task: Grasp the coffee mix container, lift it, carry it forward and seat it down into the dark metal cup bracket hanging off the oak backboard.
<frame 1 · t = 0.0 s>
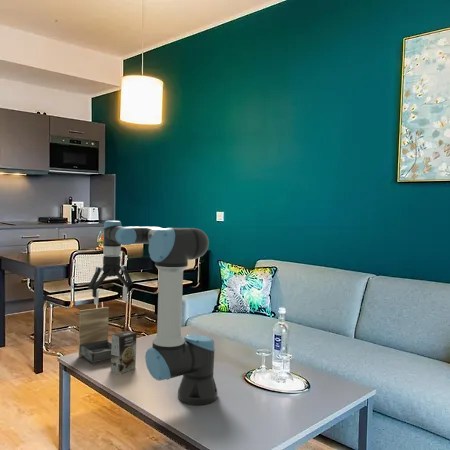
hand: (110, 302, 196), 28 cm above the table, fingers open, 13 cm apart
coffee box: (123, 370, 192), on the table
bracket: (99, 358, 204), on the table
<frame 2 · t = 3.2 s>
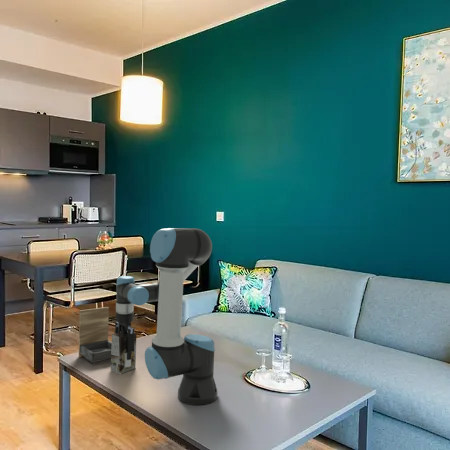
hand: (123, 363, 192), 3 cm above the table, fingers closed on coffee box, 7 cm apart
coffee box: (123, 370, 192), on the table, touching gripper
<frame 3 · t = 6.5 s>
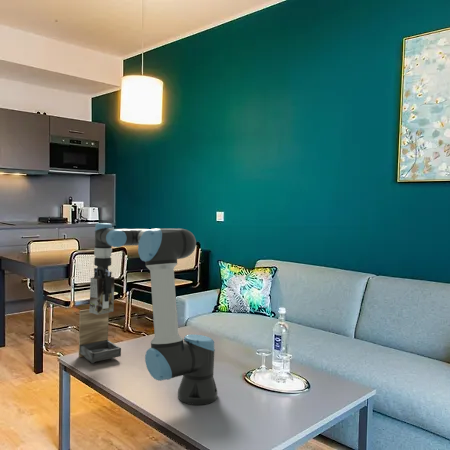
hand: (101, 306, 202), 25 cm above the table, fingers closed on coffee box, 7 cm apart
coffee box: (101, 312, 202), point 22 cm above the table, touching gripper
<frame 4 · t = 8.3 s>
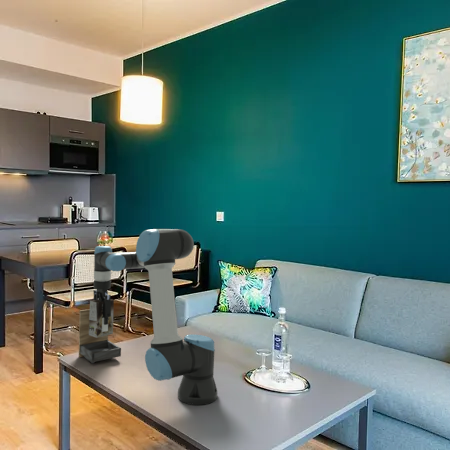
hand: (101, 328, 203), 14 cm above the table, fingers closed on coffee box, 7 cm apart
coffee box: (101, 334, 203), point 11 cm above the table, touching gripper
when the fingers open (8 cm above the table, at t = 10.0 s): coffee box drops 2 cm, resting on bracket.
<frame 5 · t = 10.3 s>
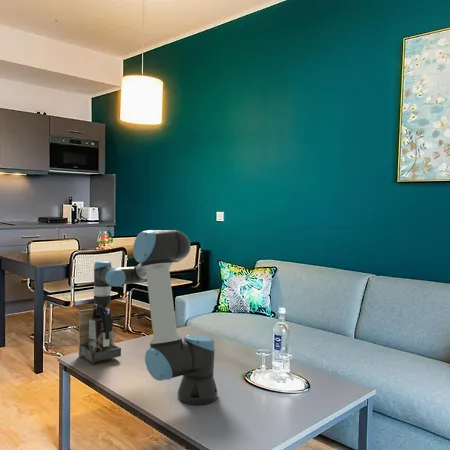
hand: (101, 343, 202), 8 cm above the table, fingers open, 9 cm apart
coffee box: (100, 353, 203), point 3 cm above the table, touching bracket
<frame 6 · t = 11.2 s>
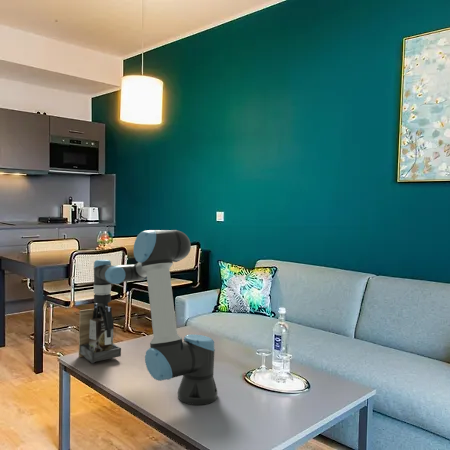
hand: (102, 341, 201), 9 cm above the table, fingers open, 11 cm apart
coffee box: (100, 353, 203), point 3 cm above the table, touching gripper
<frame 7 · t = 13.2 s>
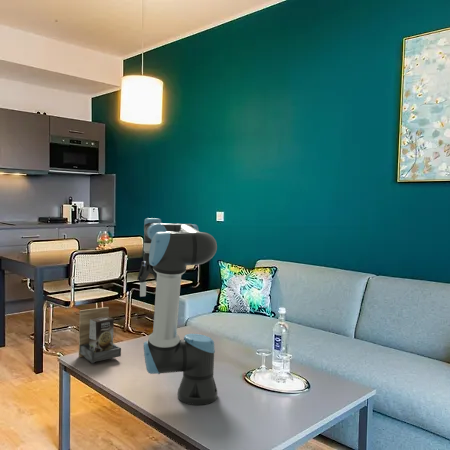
hand: (150, 298, 200), 30 cm above the table, fingers open, 13 cm apart
coffee box: (100, 353, 203), point 3 cm above the table, touching bracket
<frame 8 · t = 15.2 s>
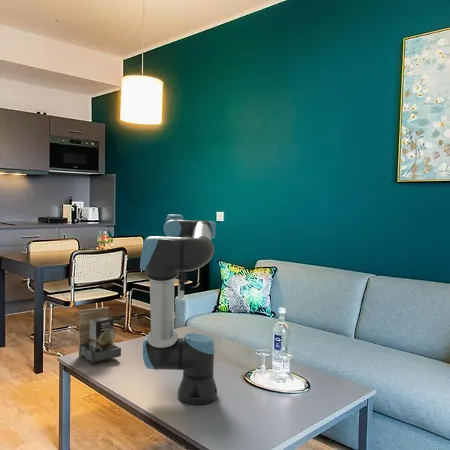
hand: (172, 295, 200), 32 cm above the table, fingers open, 13 cm apart
nothing on the table moved.
at the end: coffee box inside the target area on the bracket (0.2 cm from its centre), point 2.8 cm above the bracket's base; coffee box tilted 0°; the gripper is holding nothing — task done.
